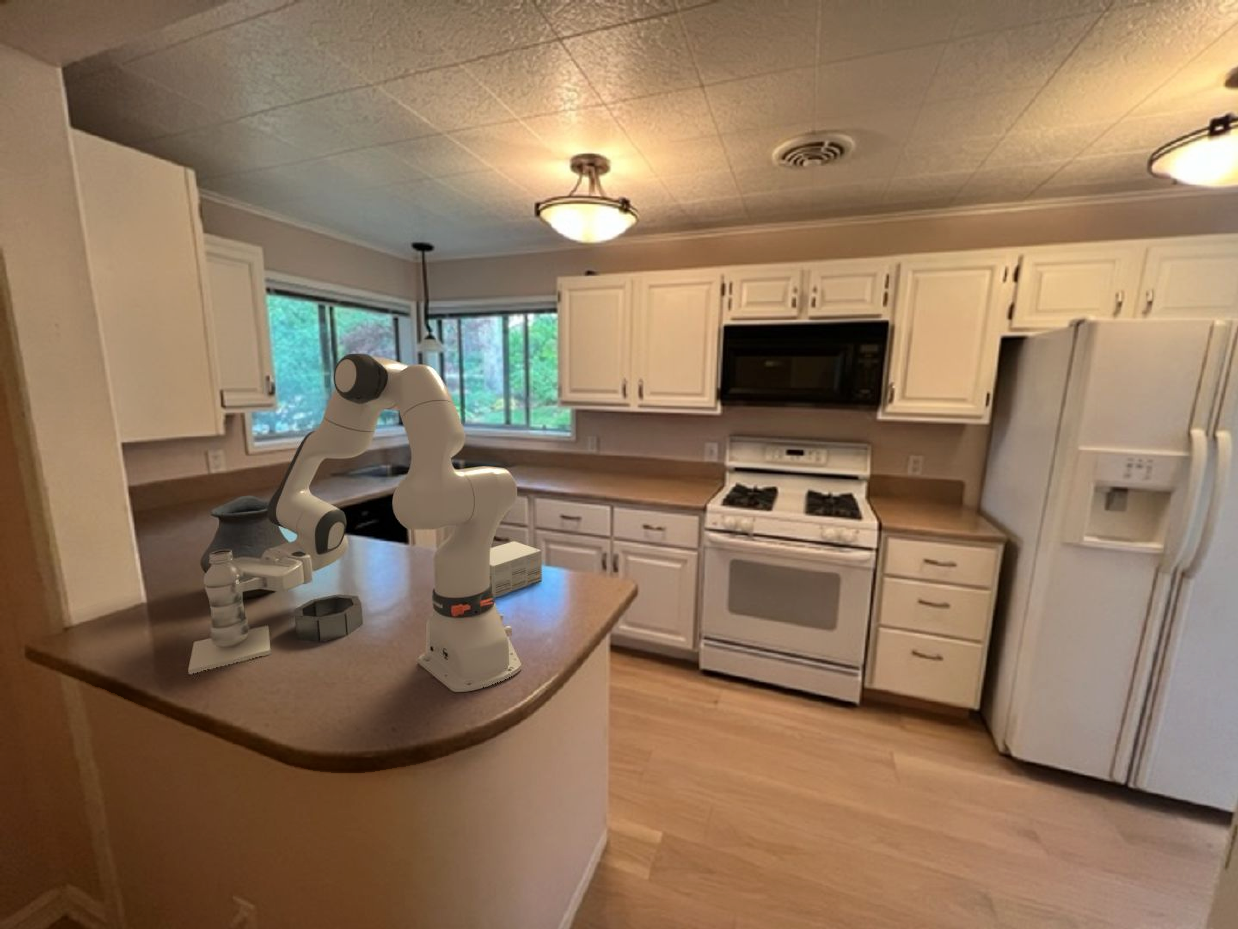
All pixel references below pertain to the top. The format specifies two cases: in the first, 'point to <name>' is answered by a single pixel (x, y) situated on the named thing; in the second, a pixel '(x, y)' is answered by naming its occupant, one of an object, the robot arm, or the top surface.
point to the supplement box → (514, 567)
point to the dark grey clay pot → (244, 533)
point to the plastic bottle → (225, 601)
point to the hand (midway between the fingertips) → (220, 587)
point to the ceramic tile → (229, 651)
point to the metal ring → (328, 618)
